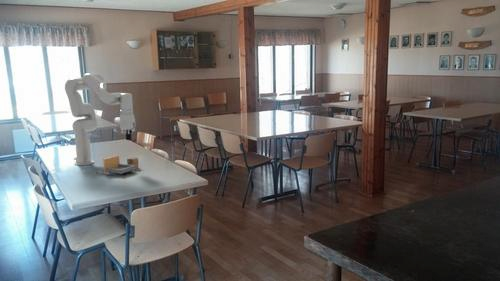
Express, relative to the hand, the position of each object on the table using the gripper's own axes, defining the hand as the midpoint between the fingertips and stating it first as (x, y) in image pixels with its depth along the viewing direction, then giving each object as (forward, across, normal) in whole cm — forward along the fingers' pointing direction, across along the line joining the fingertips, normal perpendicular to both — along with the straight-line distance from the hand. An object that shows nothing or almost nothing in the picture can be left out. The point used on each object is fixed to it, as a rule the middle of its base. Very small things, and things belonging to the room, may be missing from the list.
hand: (128, 139), depth 270 cm
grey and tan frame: (+20, +3, -12) cm, 23 cm away
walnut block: (+20, 0, +2) cm, 20 cm away
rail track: (+20, -1, -12) cm, 23 cm away
